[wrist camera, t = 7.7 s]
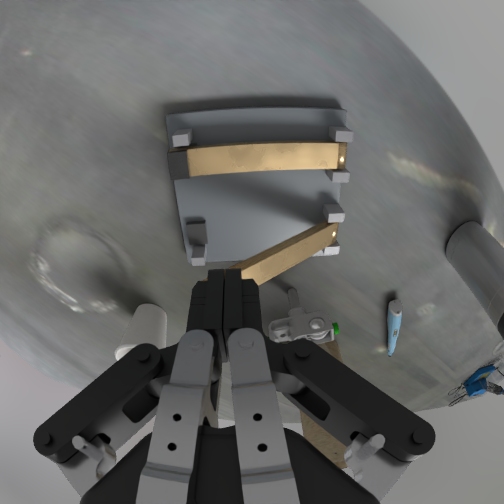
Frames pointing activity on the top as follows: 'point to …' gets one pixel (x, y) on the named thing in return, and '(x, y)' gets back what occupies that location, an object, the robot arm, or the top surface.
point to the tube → (317, 433)
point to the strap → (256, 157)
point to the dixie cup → (144, 329)
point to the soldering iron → (480, 383)
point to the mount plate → (255, 182)
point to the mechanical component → (302, 324)
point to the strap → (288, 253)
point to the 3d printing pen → (393, 323)
